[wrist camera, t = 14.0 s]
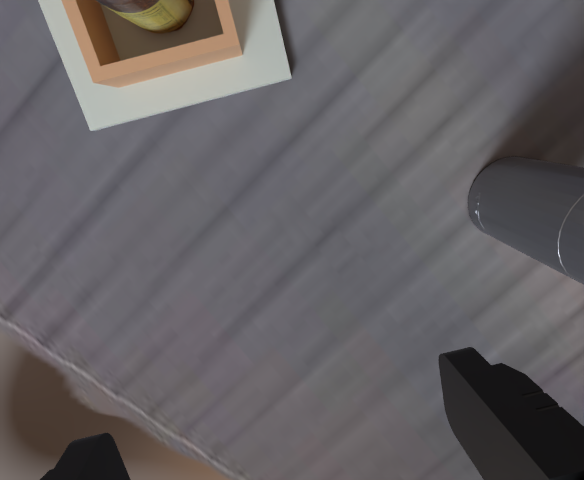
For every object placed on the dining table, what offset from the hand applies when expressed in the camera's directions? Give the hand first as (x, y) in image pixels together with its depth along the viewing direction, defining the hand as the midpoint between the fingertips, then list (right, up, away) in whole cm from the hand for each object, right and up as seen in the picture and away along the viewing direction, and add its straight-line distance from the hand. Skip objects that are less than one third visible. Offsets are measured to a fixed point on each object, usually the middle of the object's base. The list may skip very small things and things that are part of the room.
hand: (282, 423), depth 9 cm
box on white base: (-12, +26, +27) cm, 39 cm away
